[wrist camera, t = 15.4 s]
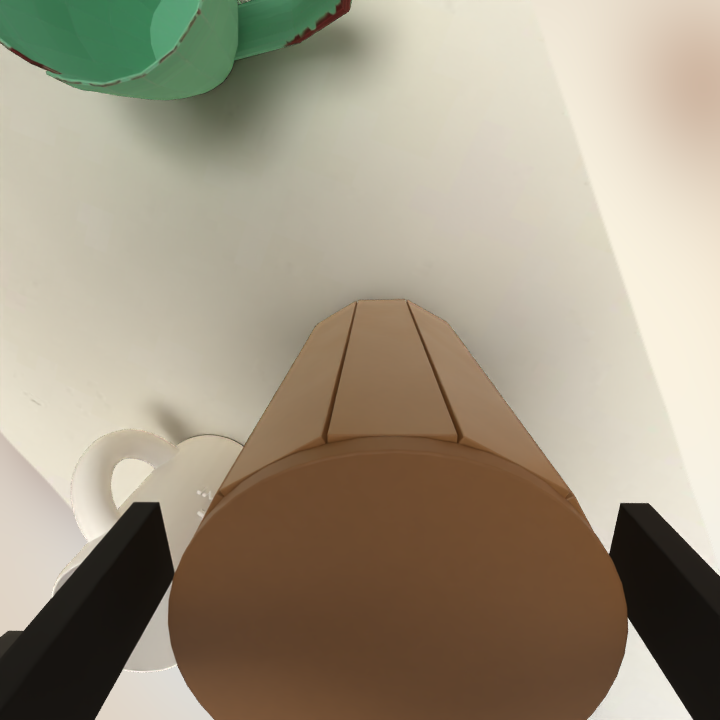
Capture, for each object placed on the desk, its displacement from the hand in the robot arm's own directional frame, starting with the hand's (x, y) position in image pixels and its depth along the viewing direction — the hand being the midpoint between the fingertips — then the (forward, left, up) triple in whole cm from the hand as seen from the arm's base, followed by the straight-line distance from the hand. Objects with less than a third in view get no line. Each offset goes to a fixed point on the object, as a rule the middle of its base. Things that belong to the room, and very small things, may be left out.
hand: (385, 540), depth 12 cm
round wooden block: (0, 0, -13) cm, 13 cm away
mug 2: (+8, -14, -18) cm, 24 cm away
